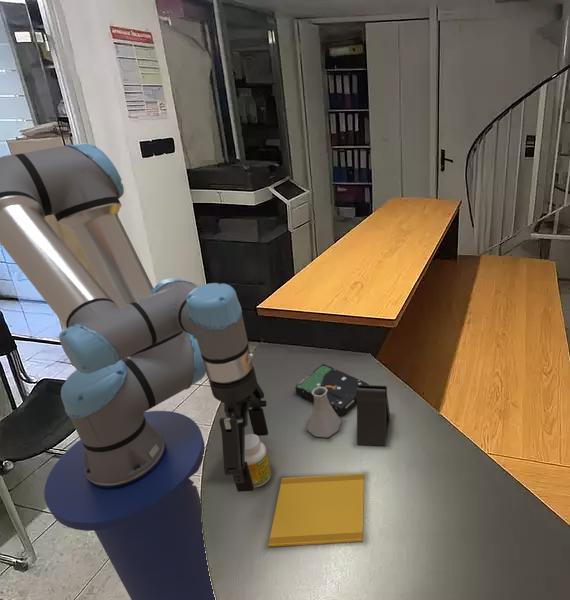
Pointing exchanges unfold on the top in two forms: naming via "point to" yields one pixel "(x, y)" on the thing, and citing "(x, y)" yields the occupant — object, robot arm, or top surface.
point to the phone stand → (372, 415)
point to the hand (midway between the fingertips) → (254, 460)
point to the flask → (323, 415)
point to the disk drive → (331, 387)
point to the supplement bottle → (257, 460)
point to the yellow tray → (319, 510)
